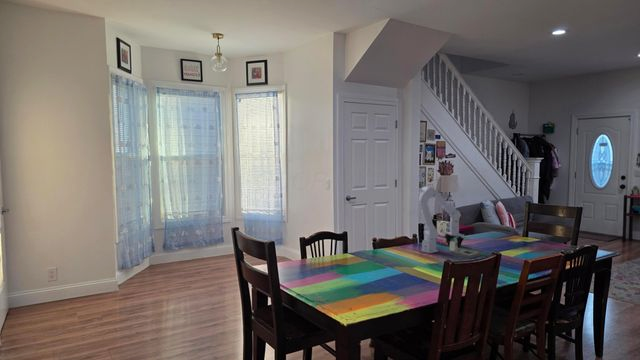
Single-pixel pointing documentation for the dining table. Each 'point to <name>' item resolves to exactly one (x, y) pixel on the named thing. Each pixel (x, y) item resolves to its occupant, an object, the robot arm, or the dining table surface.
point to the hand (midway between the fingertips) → (454, 246)
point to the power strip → (465, 253)
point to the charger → (453, 245)
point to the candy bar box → (442, 231)
